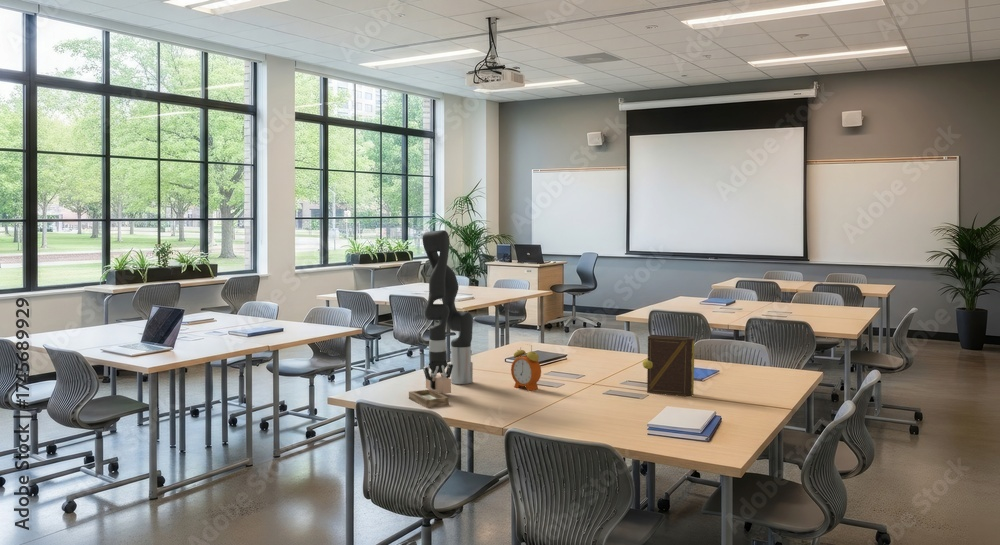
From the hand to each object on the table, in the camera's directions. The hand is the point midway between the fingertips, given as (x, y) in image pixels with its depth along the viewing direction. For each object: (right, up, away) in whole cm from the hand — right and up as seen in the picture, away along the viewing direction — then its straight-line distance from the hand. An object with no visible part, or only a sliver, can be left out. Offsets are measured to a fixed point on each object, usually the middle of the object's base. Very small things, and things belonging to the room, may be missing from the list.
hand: (438, 388), depth 336 cm
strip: (0, -1, 0) cm, 1 cm away
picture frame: (-3, -3, -14) cm, 15 cm away
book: (+100, -3, +3) cm, 101 cm away
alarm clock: (+38, -2, +12) cm, 40 cm away
